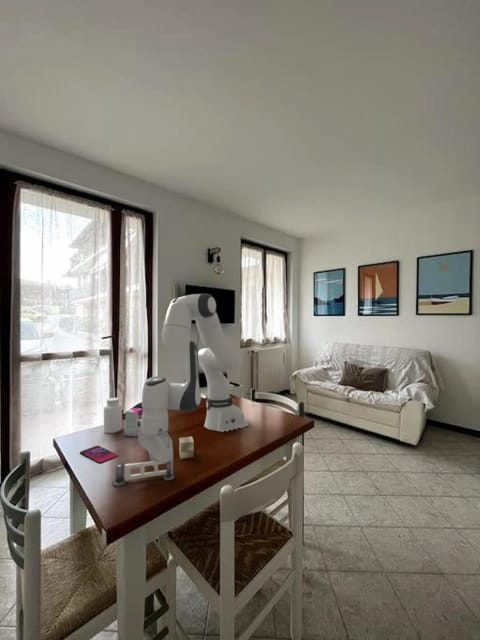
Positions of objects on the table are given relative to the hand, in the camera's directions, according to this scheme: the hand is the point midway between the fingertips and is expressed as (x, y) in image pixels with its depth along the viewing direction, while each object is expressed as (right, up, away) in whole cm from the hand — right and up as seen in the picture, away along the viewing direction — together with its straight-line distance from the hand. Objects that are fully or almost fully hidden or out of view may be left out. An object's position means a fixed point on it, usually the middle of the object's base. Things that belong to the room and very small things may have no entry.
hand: (154, 465), depth 97 cm
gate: (-1, -2, -3) cm, 3 cm away
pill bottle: (-32, -3, +38) cm, 50 cm away
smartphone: (-26, -3, +14) cm, 30 cm away
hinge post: (-10, -3, -5) cm, 11 cm away
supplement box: (-20, -3, +34) cm, 39 cm away
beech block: (+8, -3, +14) cm, 17 cm away
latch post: (+6, -3, -2) cm, 7 cm away
